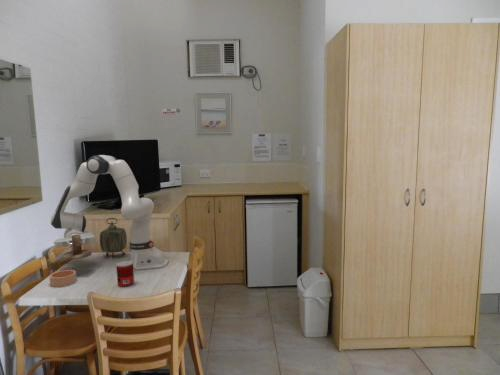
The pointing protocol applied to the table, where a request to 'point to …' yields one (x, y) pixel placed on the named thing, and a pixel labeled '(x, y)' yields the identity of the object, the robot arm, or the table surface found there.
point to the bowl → (63, 278)
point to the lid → (77, 249)
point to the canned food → (125, 273)
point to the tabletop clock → (113, 239)
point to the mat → (84, 271)
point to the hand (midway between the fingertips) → (76, 244)
